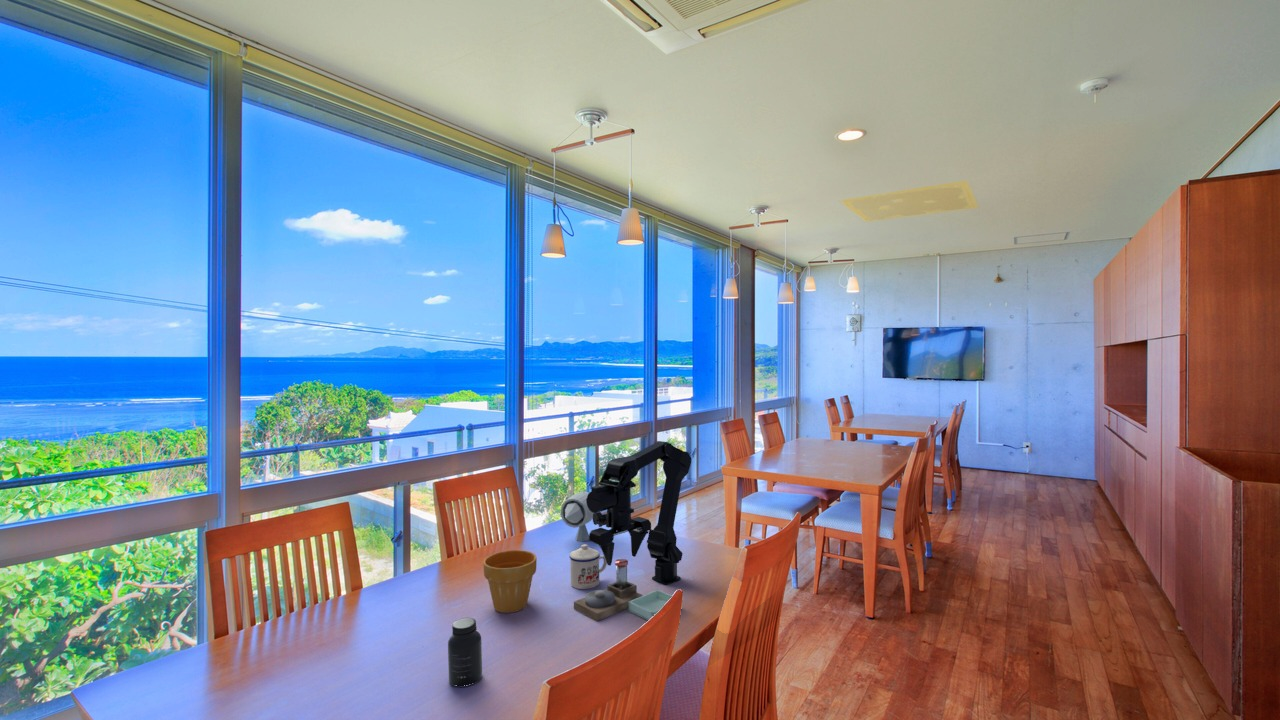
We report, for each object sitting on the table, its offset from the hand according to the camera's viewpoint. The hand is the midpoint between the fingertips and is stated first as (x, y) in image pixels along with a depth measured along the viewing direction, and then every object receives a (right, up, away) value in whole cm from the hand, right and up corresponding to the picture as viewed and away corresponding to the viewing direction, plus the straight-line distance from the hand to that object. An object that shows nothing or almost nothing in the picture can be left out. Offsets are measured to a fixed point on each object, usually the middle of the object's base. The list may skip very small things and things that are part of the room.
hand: (621, 560), depth 155 cm
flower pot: (-30, -12, -3) cm, 33 cm away
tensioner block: (-4, -11, -4) cm, 12 cm away
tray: (+9, -11, -7) cm, 16 cm away
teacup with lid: (-10, -11, +12) cm, 20 cm away
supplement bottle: (-32, -12, -38) cm, 51 cm away
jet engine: (-18, -11, +51) cm, 55 cm away
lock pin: (0, -9, 0) cm, 9 cm away
